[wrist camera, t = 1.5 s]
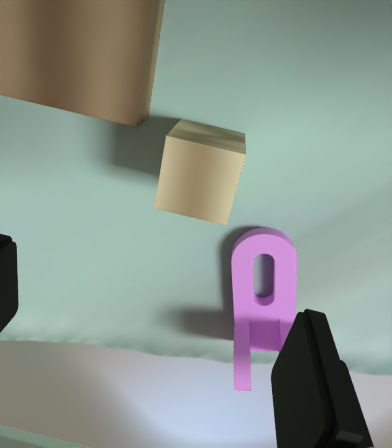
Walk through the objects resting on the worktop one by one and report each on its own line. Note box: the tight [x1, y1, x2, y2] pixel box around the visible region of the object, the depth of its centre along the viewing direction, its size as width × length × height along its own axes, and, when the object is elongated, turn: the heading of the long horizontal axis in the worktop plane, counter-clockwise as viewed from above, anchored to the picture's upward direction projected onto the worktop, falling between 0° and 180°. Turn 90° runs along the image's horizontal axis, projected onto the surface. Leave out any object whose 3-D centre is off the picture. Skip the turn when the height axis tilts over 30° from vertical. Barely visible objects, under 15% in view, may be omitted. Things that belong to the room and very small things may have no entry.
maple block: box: [154, 119, 246, 225], centre depth 25 cm, size 5×5×6 cm
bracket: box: [231, 227, 298, 391], centre depth 30 cm, size 13×6×7 cm, turn 5°
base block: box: [0, 0, 165, 127], centre depth 23 cm, size 12×12×4 cm
